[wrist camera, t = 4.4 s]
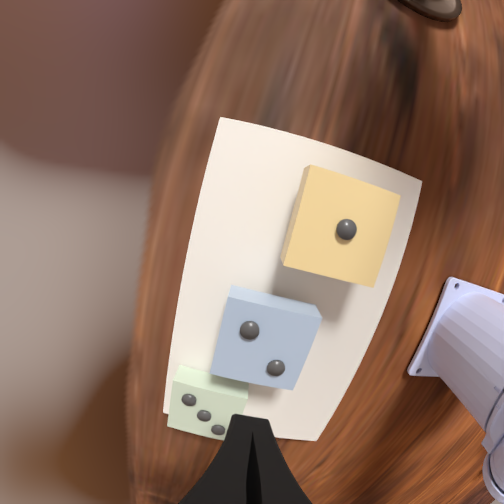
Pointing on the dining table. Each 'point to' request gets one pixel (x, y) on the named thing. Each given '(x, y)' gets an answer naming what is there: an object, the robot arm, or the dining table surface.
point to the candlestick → (435, 8)
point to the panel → (280, 267)
